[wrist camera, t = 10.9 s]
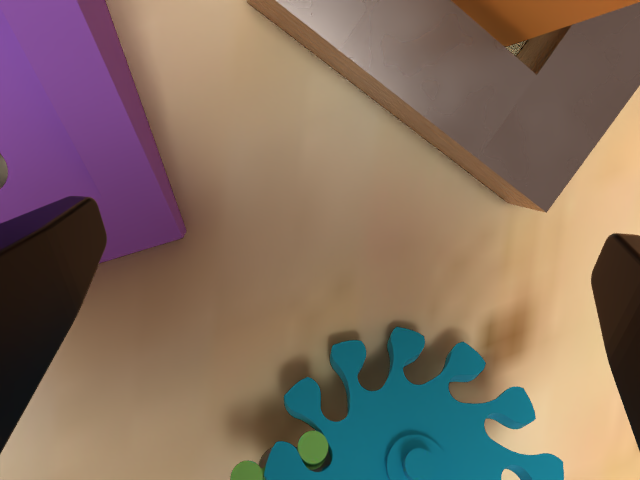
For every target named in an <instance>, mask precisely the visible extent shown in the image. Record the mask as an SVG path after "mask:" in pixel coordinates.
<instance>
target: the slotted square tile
mask: <svg viewBox="0 0 640 480" xmlns="http://www.w3.org/2000/svg"><path fill="white" fill-rule="evenodd" d="M247 2H248V3H249V4H250V5H252V6H253V7H254V8H255V9H257V10H258V11H259V12H261V13H262V14H263V15H265V16H266V17H267V18H268V19H270V20H271V21H272V22H274V23H275V24H276V25H278V26H279V27H280V28H281V29H283V30H284V31H285V32H287V33H288V34H289V35H291V36H292V37H293V38H294V39H296V40H297V41H298V42H300V43H301V44H302V45H304V46H305V47H306V48H307V49H309V50H310V51H311V52H313V53H314V54H315V55H317V56H318V57H319V58H320V59H322V60H323V61H324V62H326V63H327V64H328V65H330V66H331V67H332V68H333V69H335V70H336V71H337V72H339V73H340V74H341V75H343V76H344V77H345V78H346V79H348V80H349V81H350V82H352V83H353V84H354V85H356V86H357V87H358V88H359V89H361V90H362V91H363V92H365V93H366V94H367V95H369V96H370V97H371V98H372V99H374V100H375V101H376V102H378V103H379V104H380V105H382V106H383V107H384V108H385V109H387V110H388V111H389V112H391V113H392V114H393V115H395V116H396V117H397V118H398V119H400V120H401V121H402V122H404V123H405V124H406V125H408V126H409V127H410V128H411V129H413V130H414V131H415V132H417V133H418V134H419V135H421V136H422V137H423V138H424V139H426V140H427V141H428V142H430V143H431V144H432V145H434V146H435V147H436V148H437V149H439V150H440V151H441V152H443V153H444V154H445V155H447V156H448V157H449V158H450V159H452V160H453V161H454V162H456V163H457V164H458V165H460V166H461V167H462V168H463V169H465V170H466V171H467V172H469V173H470V174H471V175H473V176H474V177H475V178H476V179H478V180H479V181H480V182H482V183H483V184H484V185H486V186H487V187H488V188H489V189H491V190H492V191H493V192H495V193H496V194H497V195H499V196H500V197H501V198H502V199H504V200H505V201H506V202H508V203H510V204H514V205H518V206H522V207H526V208H530V209H534V210H538V211H542V212H546V213H547V211H548V210H549V208H550V207H551V206H552V204H553V203H554V202H555V200H556V199H557V197H558V196H559V195H560V193H561V192H562V191H563V189H564V188H565V187H566V185H567V184H568V182H569V181H570V180H571V178H572V177H573V176H574V174H575V173H576V172H577V170H578V169H579V167H580V166H581V165H582V163H583V162H584V161H585V159H586V158H587V156H588V155H589V154H590V152H591V151H592V150H593V148H594V147H595V146H596V144H597V143H598V141H599V140H600V139H601V137H602V136H603V135H604V133H605V132H606V131H607V129H608V128H609V126H610V125H611V124H612V122H613V121H614V120H615V118H616V117H617V115H618V114H619V113H620V111H621V110H622V109H623V107H624V106H625V105H626V103H627V102H628V100H629V99H630V98H631V96H632V95H633V94H634V92H635V91H636V90H637V88H638V87H639V85H640V2H638V3H635V4H632V5H629V6H626V7H623V8H620V9H617V10H614V11H611V12H608V13H605V14H602V15H599V16H597V17H594V18H591V19H588V20H585V21H582V22H579V23H576V24H573V25H570V26H567V27H564V28H561V29H558V30H555V31H552V32H549V33H546V34H543V35H540V36H537V37H534V38H531V39H528V41H527V42H526V43H525V45H524V46H523V48H522V49H521V51H520V52H519V53H518V55H517V56H514V55H513V54H512V53H511V52H510V51H509V50H507V49H506V48H505V47H504V46H503V45H502V44H501V43H499V42H498V41H497V40H496V39H495V38H494V37H493V36H491V35H490V34H489V33H488V32H487V31H486V30H485V29H483V28H482V27H481V26H480V25H479V24H478V23H477V22H475V21H474V20H473V19H472V18H471V17H470V16H468V15H467V14H466V13H465V12H464V11H463V10H462V9H460V8H459V7H458V6H457V5H456V4H455V3H454V2H452V1H451V0H247Z"/></svg>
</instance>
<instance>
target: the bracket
mask: <svg viewBox="0 0 640 480" xmlns="http://www.w3.org/2000/svg"><path fill="white" fill-rule="evenodd" d="M0 154H1V155H2V156H3V158H4V159H5V161H6V164H7V167H8V177H7V180H6V183H5V184H4V186H3V187H2V188H1V189H0V223H3V222H5V221H8V220H10V219H13V218H15V217H18V216H20V215H23V214H25V213H28V212H30V211H33V210H35V209H38V208H40V207H43V206H45V205H48V204H50V203H53V202H55V201H58V200H60V199H63V198H65V197H68V196H85V197H91V198H93V199H94V200H95V201H96V202H97V204H98V207H99V210H100V214H101V217H102V220H103V224H104V227H105V230H106V234H107V243H106V247H105V250H104V252H103V255H102V257H101V260H100V262H99V263H102V262H105V261H108V260H112V259H115V258H118V257H122V256H125V255H128V254H131V253H135V252H138V251H141V250H145V249H148V248H151V247H155V246H158V245H161V244H164V243H168V242H171V241H174V240H178V239H181V238H183V237H184V235H185V233H186V228H185V225H184V222H183V220H182V217H181V214H180V211H179V208H178V205H177V203H176V200H175V197H174V194H173V191H172V188H171V186H170V183H169V180H168V177H167V174H166V171H165V169H164V166H163V163H162V160H161V157H160V154H159V152H158V149H157V146H156V143H155V140H154V137H153V135H152V132H151V129H150V126H149V123H148V121H147V118H146V115H145V112H144V109H143V106H142V104H141V101H140V98H139V95H138V92H137V89H136V87H135V84H134V81H133V78H132V75H131V72H130V70H129V67H128V64H127V61H126V58H125V55H124V53H123V50H122V47H121V44H120V41H119V38H118V36H117V33H116V30H115V27H114V24H113V21H112V19H111V16H110V13H109V10H108V7H107V5H106V2H105V0H0Z"/></svg>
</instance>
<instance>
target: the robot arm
mask: <svg viewBox="0 0 640 480" xmlns="http://www.w3.org/2000/svg"><path fill="white" fill-rule="evenodd" d="M106 243H107V234H106V230H105V227H104V224H103V220H102V217H101V214H100V210H99V207H98V204H97V202H96V201H95V200H94V199H93V198H91V197H85V196H68V197H65V198H63V199H60V200H58V201H55V202H53V203H50V204H48V205H45V206H43V207H40V208H38V209H35V210H33V211H30V212H28V213H25V214H23V215H20V216H18V217H15V218H13V219H10V220H8V221H5V222H3V223H0V454H1V452H2V450H3V448H4V447H5V445H6V443H7V441H8V439H9V438H10V436H11V434H12V432H13V430H14V429H15V427H16V425H17V423H18V421H19V420H20V418H21V416H22V414H23V412H24V411H25V409H26V407H27V405H28V403H29V401H30V400H31V398H32V396H33V394H34V392H35V391H36V389H37V387H38V385H39V383H40V382H41V380H42V378H43V376H44V374H45V373H46V371H47V369H48V367H49V365H50V364H51V362H52V360H53V358H54V356H55V355H56V353H57V351H58V349H59V347H60V346H61V344H62V342H63V340H64V338H65V337H66V335H67V333H68V331H69V329H70V328H71V326H72V324H73V322H74V320H75V318H76V316H77V314H78V312H79V310H80V308H81V305H82V303H83V301H84V298H85V296H86V294H87V291H88V289H89V286H90V284H91V282H92V279H93V277H94V274H95V272H96V269H97V267H98V265H99V262H100V260H101V257H102V255H103V252H104V250H105V247H106ZM591 285H592V290H593V294H594V299H595V304H596V308H597V313H598V318H599V322H600V327H601V331H602V336H603V341H604V345H605V350H606V354H607V357H608V361H609V365H610V368H611V371H612V374H613V377H614V380H615V382H616V385H617V388H618V391H619V394H620V397H621V400H622V402H623V405H624V408H625V411H626V414H627V417H628V419H629V422H630V425H631V428H632V431H633V434H634V436H635V439H636V442H637V445H638V448H639V451H640V236H639V235H633V234H618V233H615V234H612V235H610V236H609V237H608V238H607V240H606V241H605V243H604V246H603V248H602V250H601V253H600V255H599V257H598V259H597V262H596V264H595V266H594V269H593V271H592V276H591Z"/></svg>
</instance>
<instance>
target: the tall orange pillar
mask: <svg viewBox="0 0 640 480" xmlns="http://www.w3.org/2000/svg"><path fill="white" fill-rule="evenodd" d="M451 1H452V2H454V3H455V4H456V5H457V6H458V7H459V8H460V9H462V10H463V11H464V12H465V13H466V14H467V15H468V16H470V17H471V18H472V19H473V20H474V21H475V22H477V23H478V24H479V25H480V26H481V27H482V28H483V29H485V30H486V31H487V32H488V33H489V34H490V35H491V36H493V37H494V38H495V39H496V40H497V41H498V42H499V43H501V44H502V45H503V46H504V47H507V46H510V45H513V44H516V43H519V42H522V41H525V40H528V39H531V38H534V37H537V36H540V35H543V34H546V33H549V32H552V31H555V30H558V29H561V28H564V27H567V26H570V25H573V24H576V23H579V22H582V21H585V20H588V19H591V18H594V17H597V16H599V15H602V14H605V13H608V12H611V11H614V10H617V9H620V8H623V7H626V6H629V5H632V4H635V3H638V2H640V0H451Z"/></svg>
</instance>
